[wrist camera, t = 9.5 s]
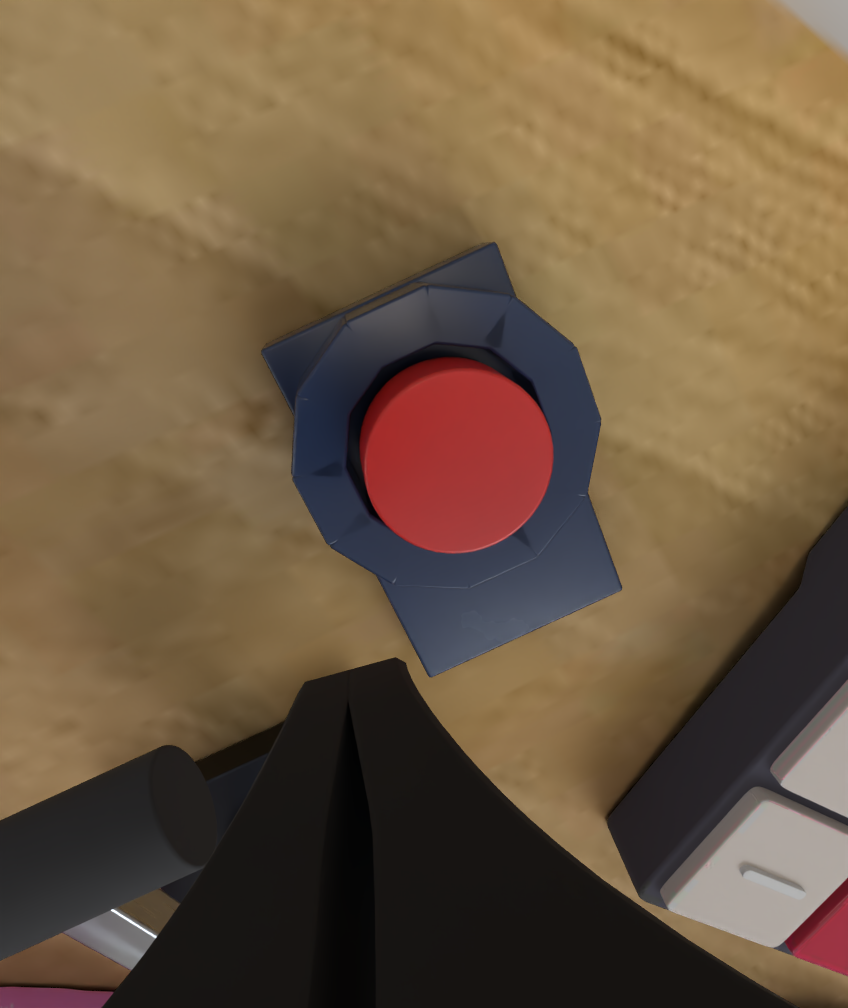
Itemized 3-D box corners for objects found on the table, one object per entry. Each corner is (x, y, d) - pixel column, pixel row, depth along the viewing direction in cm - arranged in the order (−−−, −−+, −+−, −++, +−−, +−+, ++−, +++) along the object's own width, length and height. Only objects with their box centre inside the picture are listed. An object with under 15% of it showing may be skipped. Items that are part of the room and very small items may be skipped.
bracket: (119, 796, 21) (6, 1106, 13) (362, 684, 21) (388, 932, 13) (249, 960, 24) (217, 1293, 16) (463, 862, 24) (532, 1151, 16)
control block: (246, 352, 17) (233, 371, 14) (501, 233, 17) (537, 229, 14) (410, 663, 21) (424, 726, 18) (621, 565, 21) (668, 614, 18)
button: (328, 403, 15) (330, 420, 14) (494, 326, 15) (515, 334, 14) (402, 552, 17) (411, 584, 15) (554, 482, 17) (579, 507, 15)
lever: (-118, 847, 12) (-171, 978, 10) (155, 721, 12) (146, 833, 10) (215, 1026, 18) (215, 1124, 16) (392, 945, 18) (410, 1036, 16)
